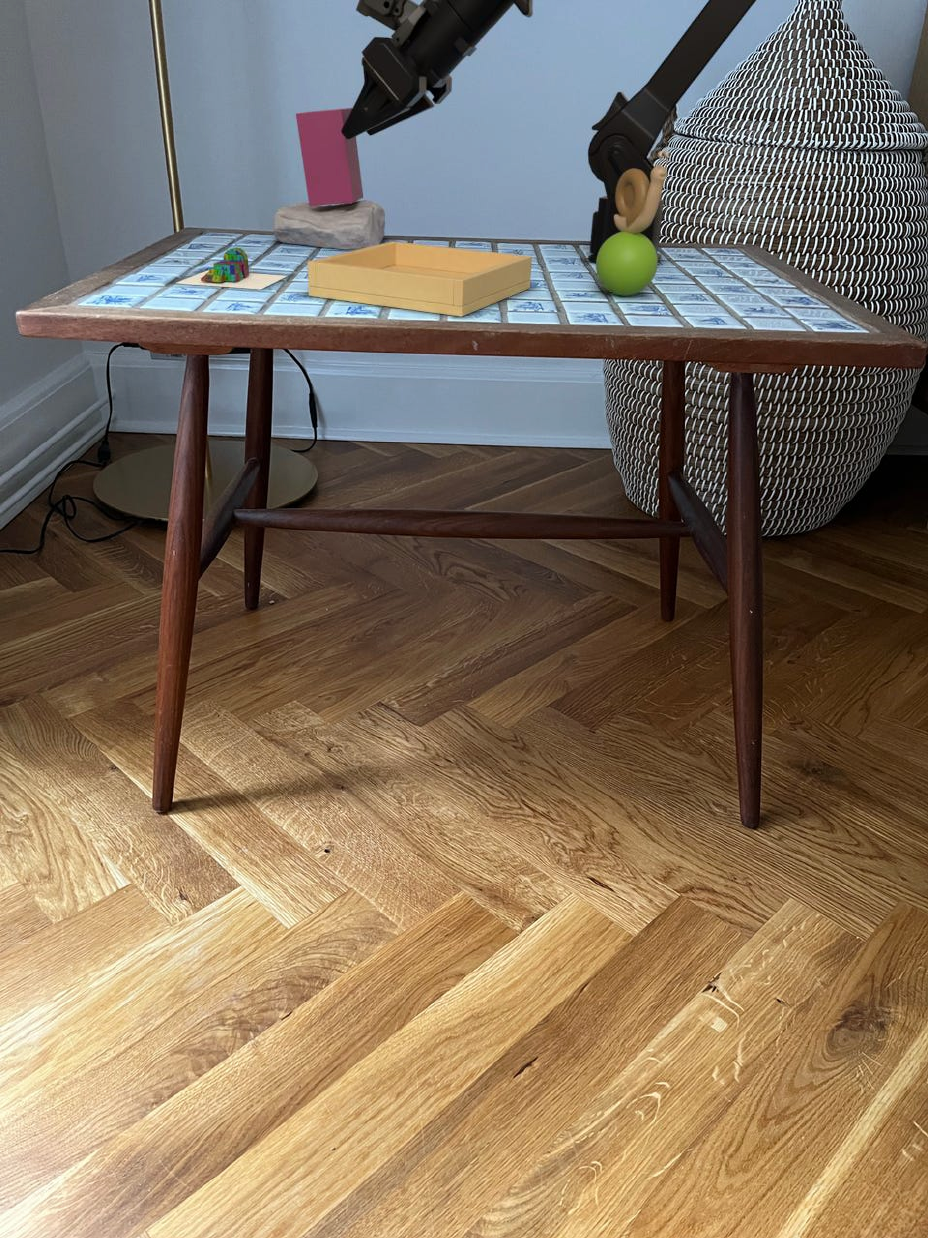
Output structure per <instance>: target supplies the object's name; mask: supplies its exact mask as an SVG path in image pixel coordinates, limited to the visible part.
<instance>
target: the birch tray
mask: <svg viewBox="0 0 928 1238" xmlns="http://www.w3.org/2000/svg"><path fill="white" fill-rule="evenodd" d="M532 262H533V256H531V255H523V254H513V253H503V252H495V251H486V250H485V251H484V250H477V249H476V250H475V249H467V248H459V247H458V248H457V247H450V246H440V245H431V244H422V243H414V242H413V243H411V242H404V241H403V242H402V241H394V240H392V241H388V242H383V243H380V244H379V245H375V246H371V247H367V248H362V249H353V250H350V251H346V252H342V253H337V254H334V255H330V256H325V257H321V258H317V259H313V260H309V261H307V283H308V284H307V285H308V287H307V288H308V296H309V297H315V298H321V299H330V300H335V301H336V300H337V301H343V302H351V303H358V304H366V305H371V306H372V305H374V306H380V307H388V308H395V309H403V310H409V311H416V312H423V313H431V314H439V315H447V316H454V317H460V318H462V317H464V316H467V315H470V314H471V313H475V312H476V311H479V310H481V309H483V308H486V307H488V306H491V305H493V304H496V303H498V302H500V301H503V300H506V299H507V298H510V297H512V296H514V295H517V294H519V293H522V292H524V291H527V290H529V289H530V288H531V278H532V266H533V265H532V264H533V263H532Z"/></svg>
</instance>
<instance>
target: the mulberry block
mask: <svg viewBox="0 0 928 1238" xmlns="http://www.w3.org/2000/svg"><path fill="white" fill-rule="evenodd" d="M352 108H353V107H345V108H336V109H335V108H334V109H325V110H323V109H322V110H314V111H313V110H312V111H304V112H298V113H295V119H296V125H297V131H298V138H299V145H300V152H301V158H302V165H303V171H304V172H303V173H304V180H305V186H306V193H307V198H308V204H309V206H328V205H338V204H345V203H354V202H356V201H360V200H361V199H363V198H364V192H363V182H362V175H361V166H360V159H359V151H358V150H359V149H358V142H357V136H355V137H353V138H351V139H349V140H348V139H346V138H345V136H344V135H343V134H342V132H341V130H342V128H343V126H344V124H345V122H346V120H347V118H348V116H349V114H350V112H351V110H352Z"/></svg>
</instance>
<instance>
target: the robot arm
mask: <svg viewBox="0 0 928 1238" xmlns="http://www.w3.org/2000/svg"><path fill="white" fill-rule="evenodd" d="M533 1H534V0H422V1H421V2H420V4H418V3H416V2H414V1H413V0H358V3H357V4H356V7H355V11H356V12H357V13H359V14H360V15H362V16H364V17H365V18H367V17H370V18H372V19H373V20H375V21H377V22H378V23H379V24H382V25H383V26H385V27H387V29H390V30H392V31H394V32H393V33H392V34H391V36H390V37H387V36H386V37H385V36H374V37H373V38H372V40H370V41H369V43H368V44H367V45H366V46H365V48H363V50H362V51H361V54H362V58H361V66H362V69H363V71H362V72H363V81H364V82H363V85H362V88H361V90H360V92H359V93H358V96H357V98H356V100H355V102H354V104H353V106H352V107H351V108H352V110H351V112H350V114H349V116H348V118H347V120H346V122H345V124H344V126H343V128H342V130H341V132H342V134H343V135H344V136H345V138H346V139H348V140H349V139H351V138H353V137H355V136H356V137H358V136H360V135H361V134H363V133H366V134H368V136H374V135H376V134H378V133H380V132H382V131H385V130H387V129H389V128H391V127H393V126H395V125H397V124H399V123H403V122H404V121H406V120H408V119H410V118H413V117H415V116H417V115H419V114H421V113H424V112H426V111H429V110H431V109H433V108H434V107H435V105H440V104H441V103H442V102H443V101H444V100H445V99H446V98H447V97H448V96H449V95H450V94H451V92H452V90H453V88H452V87H453V78H452V76H451V74H452V73H453V71H454V70H455V69H456V68H457V67H458V66H459V65H460V64H461V63H462V62H463V60H464V59H465V58H466V57H471V56H472V55H473V54H474V53H475V52H476V50H478V48H477V47H476V46H477V45H478V44H479V43H480V42H481V40H482V39H483V38H484V37H485V36H486V35H487V34H488V33H489V32H490V30H491V29H493V27H494V26H495V25H496V24H497V23H498V22H499V21H500V20H501V19H502V17H504V15H505V14H506V13H507V12H508V11H509V10H510V9H511V8H512V7H513V5H515V7H516V8H517V10H519V12H520V13H521V15H523V16H524V17H526V18H529V19H530V18H531V17H532V16H533V14H534V10H533V9H534V8H533V6H534V5H533V3H534V2H533ZM756 1H757V0H707V2H706V3H705V4H704V6H703V7H702V8H701V10H700V12H699V13H697V15H696V16H695V18H694V19H693V21H692V22H691V24H690V25H689V26H688V27H687V29H686V30H685V31H684V33H683V34H682V36H681V37H680V38H679V40H678V41H677V43H676V44H675V45H674V46H673V48H672V49H670V52H669V53H668V54H667V56H666V57H665V59H664V60H663V61H662V62H661V64H660V65H659V66H658V68H657V69H656V70H655V72H654V73H653V74H652V76H651V77H650V78H649V80H648V81H647V82H646V83H645V84H644V85H643V87H642V88H640V89H639V91H637V93H635V94H634V95H633V96H632V97H631V98H630V99H628V97H627V96H626V94H624V92H623V91H617V92H616V95H615V96H614V98H613V101H612V102H611V104H610V106H609V108H608V110H607V112H606V113H605V115H604V116H603V117H602V118H601V119H600V120H599V121H598V122H596V123H594V124H593V125H592V126H591V130H592V131H596V132H595V133H594V135H593V136H592V138H591V140H590V141H589V145H588V149H587V162H588V166H589V168H590V171H591V173H592V174H593V175H594V176H595V178H596V179H597V180H599V181H600V182H602V183H603V185H604V189H605V194H606V195H605V196H601V197H599V198H598V206H597V210H595V211H594V212H593V213H592V218H591V219H592V220H591V230H590V241H589V242H590V243H589V253H590V254H589V255H588V256H587V260H588V261H592V262H596V260H597V255H598V253H599V250H600V248H601V247H602V245H603V244H604V243H605V241H606V240H607V239H609V238H610V237H611V236H613V235H614V234H617V233H619V232H621V231H620V230H619V229H618V228H617V227H616V224H615V221H614V215H615V214H618V215H620V214H619V212H618V209H617V206H616V201H615V194H616V187H617V184H618V181H619V179H620V177H621V176H622V175H623V174H624V173H625V172H626V171H627V170H629V169H639V170H641V171H642V172H644V174H645V175H646V176H647V178H648V180H649V183H651V178H650V175H651V171H652V170H653V168H654V167H655V165H654V164H653V162H652V161H651V160H650V159H649V158H648V156H649V154H650V153H651V150H652V149H653V148H654V145H655V144H656V141H658V138H659V136H660V135H661V132H662V130H663V129H664V127H665V125H666V123H667V121H668V119H669V118H670V116H671V114H672V112H673V110H674V108H675V107H676V105H677V104H678V103H679V102H680V101H681V100H682V98H683V96H684V95H685V94H686V93H687V91H688V90H689V89H690V87H691V86H692V85H693V84H694V82H695V81H696V79H697V78H698V77H699V76H700V74H701V73H702V72H703V71H704V69H705V68H706V67H707V65H708V64H709V63H710V61H711V60H712V59H713V57H714V56H715V55H716V53H717V52H718V51H719V50H720V48H721V47H722V46H723V45H724V43H725V42H726V40H727V39H728V38H729V37H730V35H731V34H732V33H733V31H734V30H735V29H736V28H737V26H738V25H739V24H740V22H741V21H742V20H743V18H744V17H745V16H746V14H747V13H748V12H749V11H750V10H751V8H752V7H753V5H754V4H755V3H756ZM428 93H430V94H431V95H432V96H433V97H432V98H431V99H430V97H429V96H428V95H427V94H428ZM664 204H665V199H660V202H659V206H658V209H657V211H656V214H655V217H654V219H653V221H652V223H651V224H650V225H649V227H647V228H646V229H645V230H643V231H642V232H640V234H642V235H644V236H646V237H647V238H648V239H649V240H650V241H651V242H652V244H653V246H654V247H655V250H656V253H657V259H658V261H660V260H662V256H663V255H662V254H660V253H659V245H660V238H661V228H662V222H663V221H662V219H663V214H664Z"/></svg>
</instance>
